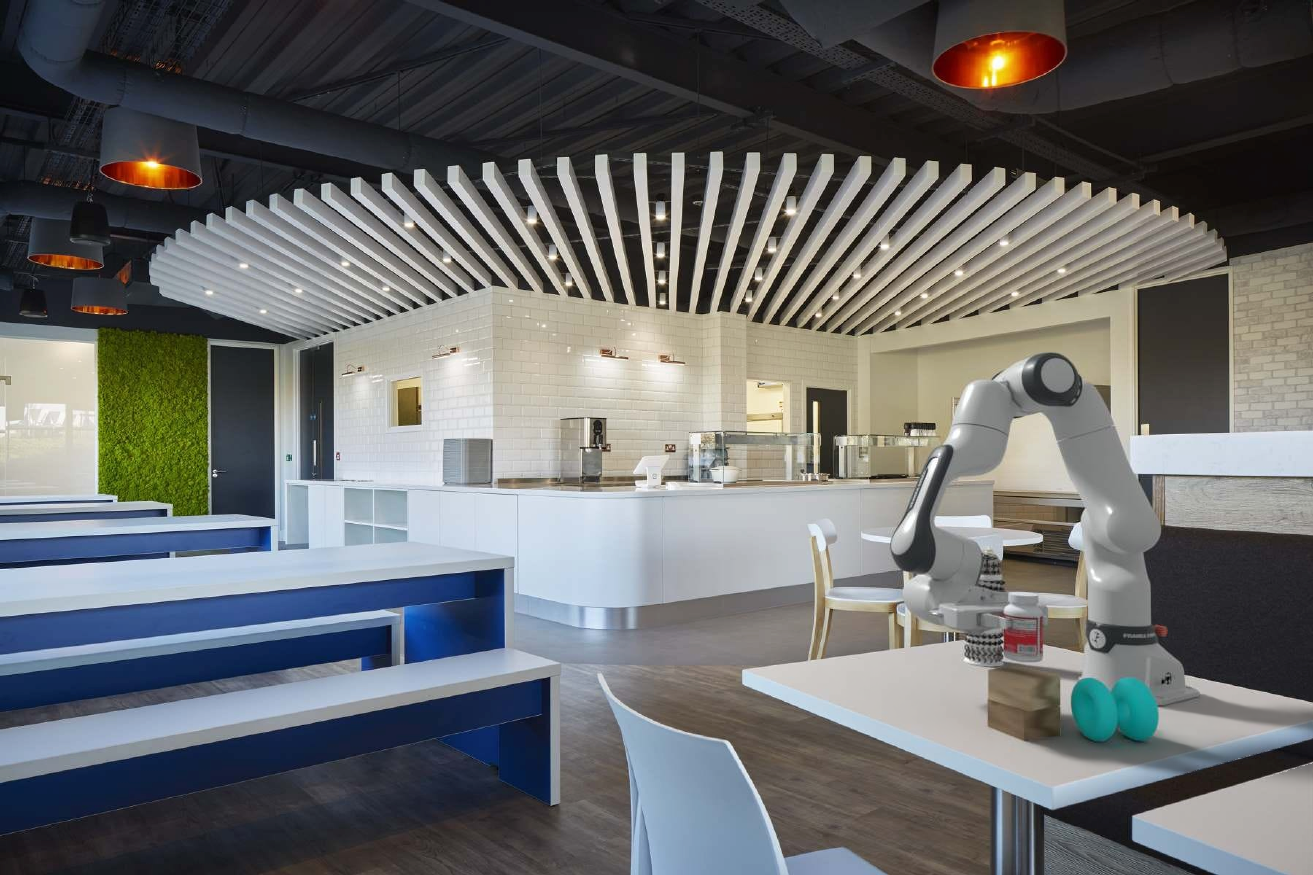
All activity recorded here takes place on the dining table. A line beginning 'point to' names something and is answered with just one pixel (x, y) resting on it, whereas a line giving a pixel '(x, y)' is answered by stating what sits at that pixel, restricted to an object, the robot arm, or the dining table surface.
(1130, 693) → the turquoise spool
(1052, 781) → the dining table surface
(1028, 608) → the pill bottle
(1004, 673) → the tower top
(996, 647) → the decorative candle
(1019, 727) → the tower base
